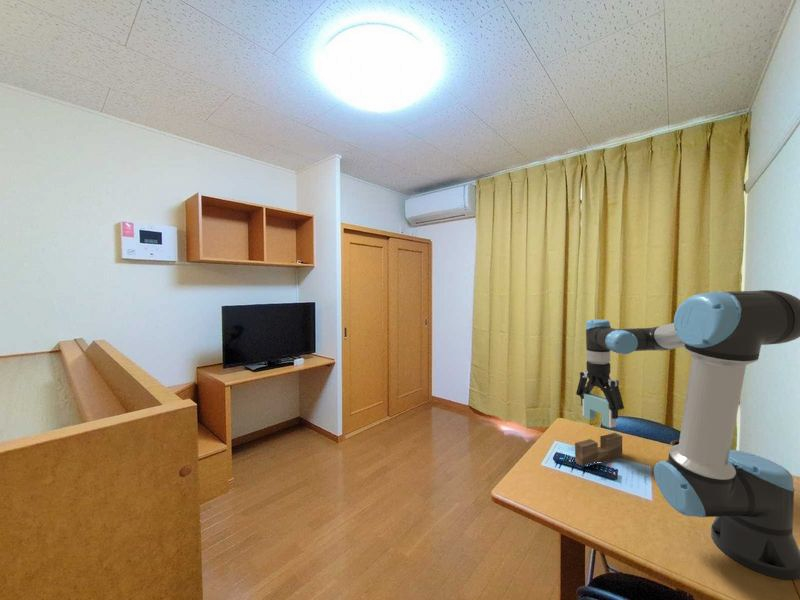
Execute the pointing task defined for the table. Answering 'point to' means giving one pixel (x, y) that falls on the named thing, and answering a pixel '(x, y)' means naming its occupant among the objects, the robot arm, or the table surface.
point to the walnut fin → (599, 449)
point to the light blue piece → (596, 407)
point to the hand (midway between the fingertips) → (598, 420)
